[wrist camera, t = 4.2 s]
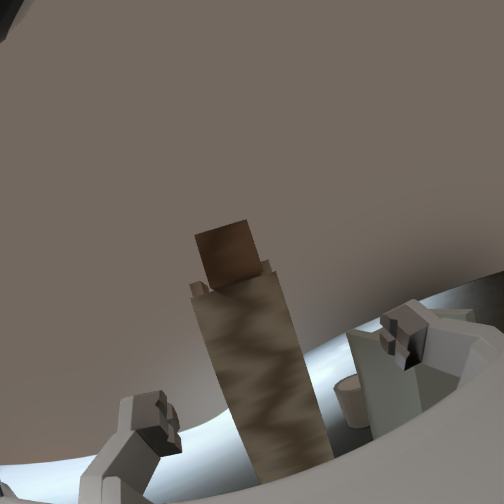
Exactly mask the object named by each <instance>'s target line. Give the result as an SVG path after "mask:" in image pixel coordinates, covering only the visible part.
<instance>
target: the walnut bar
mask: <svg viewBox="0 0 504 504" xmlns="http://www.w3.org/2000/svg"><path fill="white" fill-rule="evenodd" d="M195 239H196V243H197V246H198V249H199V252H200V255H201V259H202V263H203V266H204V269H205V272H206V276H207V279H208V282H209V285H210V288H211V289H213V290H214V291H215V290H218V289H221V288H225V287H228V286H231V285H234V284H237V283H240V282H244V281H247V280H250V279H252V278H254V277H255V276H257V275H259V274H260V273H262V272H263V268H262V265H261V262H260V259H259V256H258V253H257V250H256V247H255V244H254V240H253V238H252V234H251V231H250V229H249V226H248V222H247V220H243V221H239V222H236V223H233V224H229V225H226V226H223V227H219V228H216V229H213V230H209V231H206V232H203V233H199V234H196V235H195Z"/></svg>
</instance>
